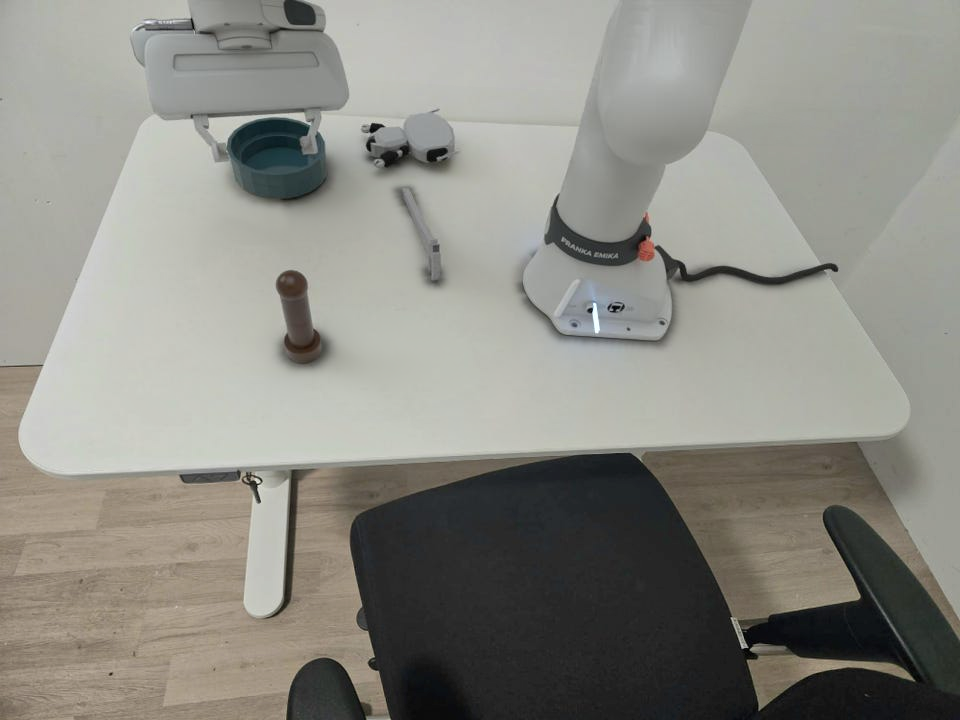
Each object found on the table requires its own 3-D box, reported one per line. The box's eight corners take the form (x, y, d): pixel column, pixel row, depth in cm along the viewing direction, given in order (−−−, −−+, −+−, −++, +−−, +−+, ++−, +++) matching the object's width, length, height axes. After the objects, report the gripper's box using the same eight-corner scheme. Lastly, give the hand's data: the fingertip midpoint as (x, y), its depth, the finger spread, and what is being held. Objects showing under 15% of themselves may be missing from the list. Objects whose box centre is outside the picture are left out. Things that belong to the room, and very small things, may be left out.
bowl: (338, 155, 96) (336, 128, 92) (309, 210, 87) (306, 183, 83) (255, 137, 95) (249, 109, 91) (218, 189, 87) (210, 161, 83)
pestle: (326, 339, 74) (316, 265, 63) (315, 366, 72) (302, 294, 61) (293, 332, 74) (277, 256, 63) (280, 359, 72) (261, 285, 60)
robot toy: (376, 184, 94) (462, 169, 98) (373, 160, 90) (464, 146, 94) (359, 138, 100) (442, 126, 104) (356, 115, 97) (442, 103, 100)
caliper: (439, 282, 83) (443, 251, 77) (431, 283, 82) (435, 252, 77) (407, 190, 93) (408, 157, 88) (400, 190, 93) (401, 157, 88)
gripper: (120, 7, 53) (162, 163, 57) (338, 8, 61) (362, 145, 65) (128, 29, 59) (165, 170, 62) (327, 28, 67) (349, 153, 70)
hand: (267, 157), depth 64 cm, fingers open, 8 cm apart
